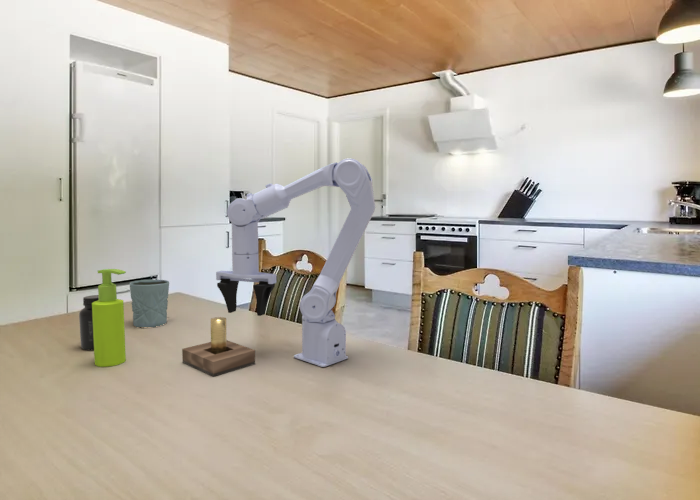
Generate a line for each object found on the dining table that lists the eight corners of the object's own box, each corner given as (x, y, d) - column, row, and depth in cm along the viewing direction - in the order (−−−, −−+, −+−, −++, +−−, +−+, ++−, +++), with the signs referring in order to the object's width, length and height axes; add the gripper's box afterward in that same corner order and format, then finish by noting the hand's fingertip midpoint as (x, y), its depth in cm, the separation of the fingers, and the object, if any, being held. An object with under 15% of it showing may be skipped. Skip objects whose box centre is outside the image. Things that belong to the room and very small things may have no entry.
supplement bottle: (119, 342, 111) (117, 294, 110) (101, 351, 105) (99, 299, 103) (93, 341, 112) (91, 293, 111) (73, 350, 105) (71, 299, 104)
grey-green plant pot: (122, 326, 126) (121, 283, 124) (148, 318, 135) (147, 278, 134) (153, 330, 123) (152, 285, 122) (177, 321, 132) (176, 280, 131)
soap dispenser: (117, 368, 94) (113, 271, 92) (88, 365, 95) (83, 270, 93) (136, 359, 100) (132, 268, 98) (108, 356, 101) (104, 267, 99)
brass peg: (229, 360, 98) (229, 318, 97) (217, 363, 95) (216, 321, 94) (220, 356, 100) (220, 316, 99) (207, 360, 97) (207, 319, 96)
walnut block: (255, 363, 97) (254, 350, 97) (213, 376, 90) (213, 361, 90) (223, 351, 105) (223, 338, 105) (182, 362, 98) (182, 348, 97)
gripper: (283, 253, 103) (283, 312, 104) (228, 250, 108) (229, 307, 109) (266, 256, 96) (267, 319, 98) (209, 253, 101) (211, 313, 103)
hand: (246, 313), depth 103 cm, fingers open, 7 cm apart
